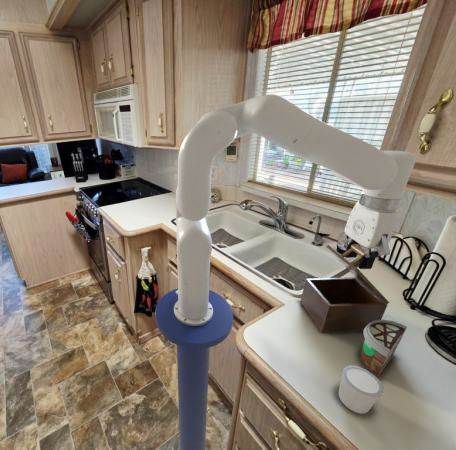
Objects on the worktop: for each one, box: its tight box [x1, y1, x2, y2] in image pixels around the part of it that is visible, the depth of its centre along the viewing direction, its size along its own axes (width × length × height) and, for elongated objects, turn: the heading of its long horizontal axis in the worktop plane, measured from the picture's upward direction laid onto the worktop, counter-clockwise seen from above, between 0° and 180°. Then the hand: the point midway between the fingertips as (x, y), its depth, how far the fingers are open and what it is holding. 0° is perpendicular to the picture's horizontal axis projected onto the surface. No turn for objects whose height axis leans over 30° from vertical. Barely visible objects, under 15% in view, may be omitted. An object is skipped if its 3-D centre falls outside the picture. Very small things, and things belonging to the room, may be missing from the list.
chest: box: [299, 276, 388, 333], centre depth 76 cm, size 16×13×10 cm
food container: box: [360, 319, 408, 377], centre depth 63 cm, size 12×6×10 cm, turn 123°
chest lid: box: [325, 244, 390, 305], centre depth 71 cm, size 16×13×6 cm
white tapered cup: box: [338, 365, 384, 415], centre depth 54 cm, size 7×7×7 cm
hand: (357, 261), depth 70 cm, fingers closed on chest lid, 5 cm apart
